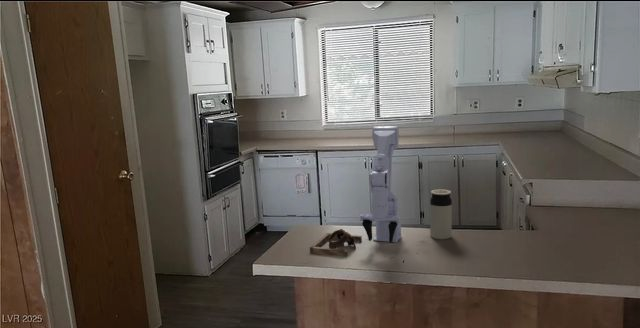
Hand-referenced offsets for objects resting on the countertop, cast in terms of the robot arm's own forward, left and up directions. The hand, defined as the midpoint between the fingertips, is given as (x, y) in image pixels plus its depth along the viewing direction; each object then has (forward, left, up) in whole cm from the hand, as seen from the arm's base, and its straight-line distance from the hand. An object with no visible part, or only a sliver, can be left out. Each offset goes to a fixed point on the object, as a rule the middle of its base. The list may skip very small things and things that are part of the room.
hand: (380, 240), depth 169 cm
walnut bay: (+16, 0, -4) cm, 17 cm away
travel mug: (-18, -22, -4) cm, 29 cm away
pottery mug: (+14, +1, -4) cm, 15 cm away
